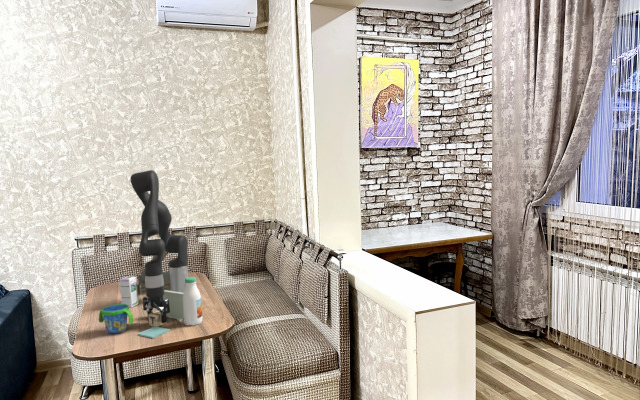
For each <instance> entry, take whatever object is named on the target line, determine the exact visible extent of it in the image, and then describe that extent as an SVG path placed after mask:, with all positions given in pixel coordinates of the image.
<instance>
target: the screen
mask: <svg viewBox="0 0 640 400" xmlns="http://www.w3.org/2000/svg"><path fill="white" fill-rule="evenodd" d="M183 294H184V293H181V292H174V291H167V290H164V295H163V299H164V300H166V299H169V306H170V312H169V313H167V314H166V315H167V318H170V319H176V321H177V322H182V321H183V322H184V313H183ZM161 307H162V306H161ZM161 307H160V308H161ZM162 311H163V310H162ZM166 311H167V308H166ZM163 312H164V311H163Z"/></svg>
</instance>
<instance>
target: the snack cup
mask: <svg viewBox="0 0 640 400" xmlns="http://www.w3.org/2000/svg"><path fill="white" fill-rule="evenodd" d="M128 318H129V319H128ZM98 322H99V323H103V322H104V326H105V330H106V332H107V334H119V333H122V332H125V331H126V329H127V325H129V326H131V325H133V323H134V317H133V313H132V312H131V309H130V308H129V306H128V305H126V304H122V303H117V304H110V305H107V306H104V307H103V308H101V310H100V311H99V314H98Z"/></svg>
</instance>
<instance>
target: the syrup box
mask: <svg viewBox="0 0 640 400" xmlns="http://www.w3.org/2000/svg"><path fill="white" fill-rule="evenodd" d="M137 281H138V279H137V276H135V275H129V276H128V275H127V276H125V277H121V278H119V289H120V290H119V291H120V299H121V301H120V302H121V304H126V305H128V306H129V309H130V308H133V307H135V306H138V305H139V304H140V303H139V293H138V292H139V291H138V282H137Z"/></svg>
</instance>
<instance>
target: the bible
mask: <svg viewBox="0 0 640 400" xmlns="http://www.w3.org/2000/svg"><path fill="white" fill-rule="evenodd" d="M168 254H169V253H168V252H166V250H164V254H163V259H162V262H163V261H164V260H165V258H166V257H167V256H168ZM156 257H157V255H155V256H152V258H151V259H150V261H152V260H154V259H155V258H156ZM162 274H163V279H164V290H167V291H171V289H170V275H169V271H162ZM137 281H138V282H137V285H138V290H139V294H140V296H143V295H146V286H145V268H144V269H143V270H142V272H141V273H140V274H139V275H137Z"/></svg>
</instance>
